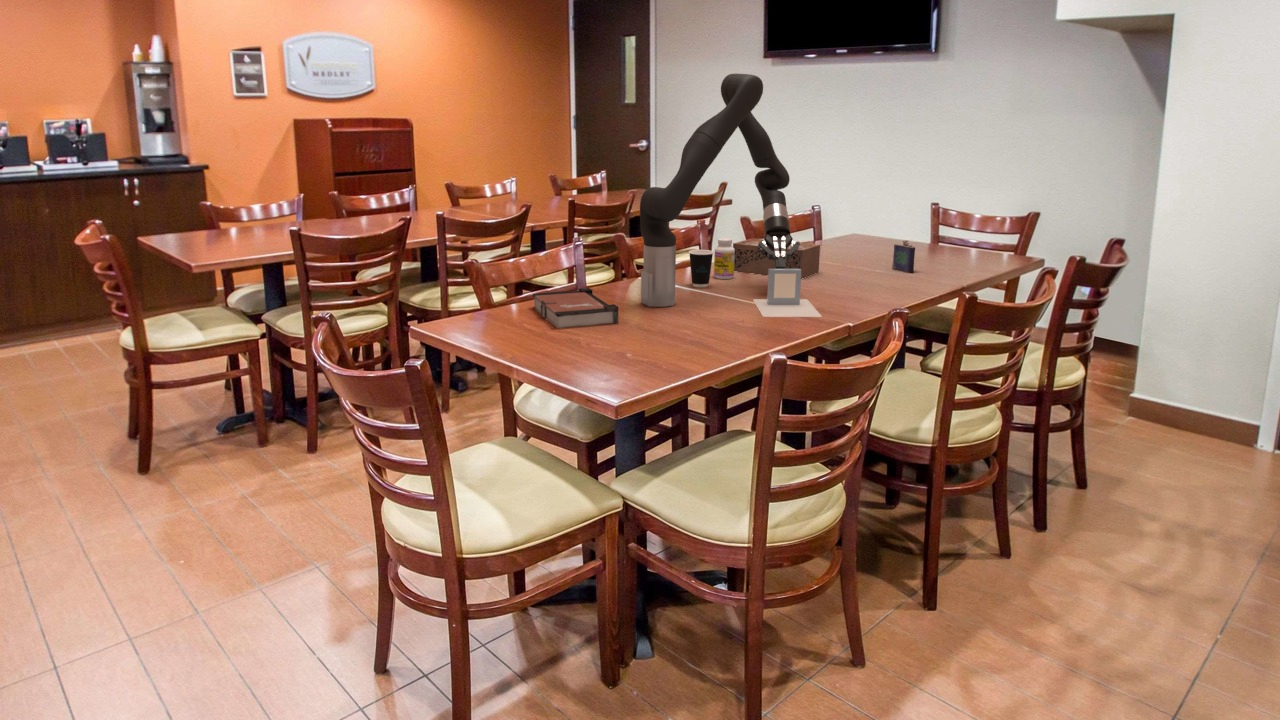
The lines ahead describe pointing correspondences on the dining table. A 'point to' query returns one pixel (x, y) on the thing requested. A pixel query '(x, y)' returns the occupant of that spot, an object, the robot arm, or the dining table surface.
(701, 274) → the dixie cup
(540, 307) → the book
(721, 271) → the supplement bottle
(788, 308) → the board
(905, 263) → the flask
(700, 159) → the robot arm
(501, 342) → the dining table surface
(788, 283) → the tile
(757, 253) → the tissue box cover
